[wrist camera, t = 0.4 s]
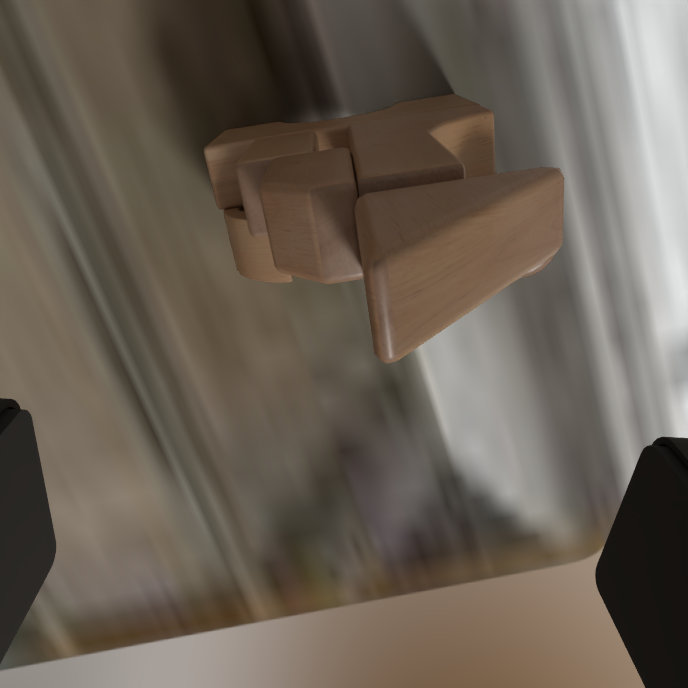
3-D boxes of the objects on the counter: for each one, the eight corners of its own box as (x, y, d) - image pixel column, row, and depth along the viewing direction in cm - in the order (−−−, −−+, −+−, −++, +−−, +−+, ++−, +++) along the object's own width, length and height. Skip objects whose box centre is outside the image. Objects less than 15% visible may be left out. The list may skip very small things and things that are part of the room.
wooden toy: (247, 239, 37) (126, 526, 15) (222, 129, 34) (25, 289, 12) (489, 203, 37) (734, 449, 14) (485, 88, 34) (789, 176, 11)
